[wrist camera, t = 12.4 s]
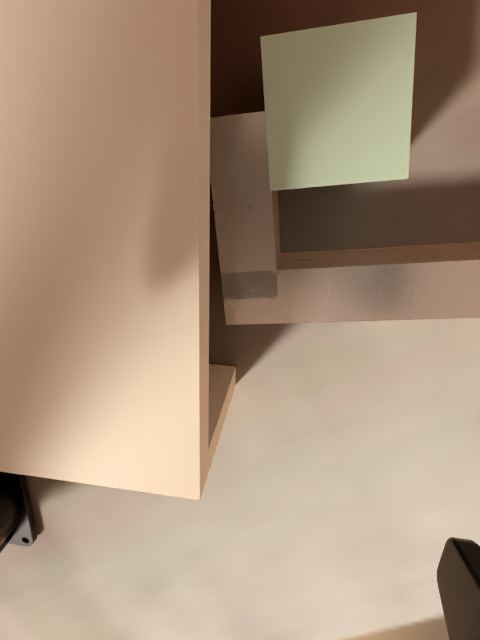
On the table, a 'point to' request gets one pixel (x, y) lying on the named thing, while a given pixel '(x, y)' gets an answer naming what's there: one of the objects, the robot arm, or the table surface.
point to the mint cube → (339, 102)
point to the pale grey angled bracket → (318, 254)
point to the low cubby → (107, 245)
